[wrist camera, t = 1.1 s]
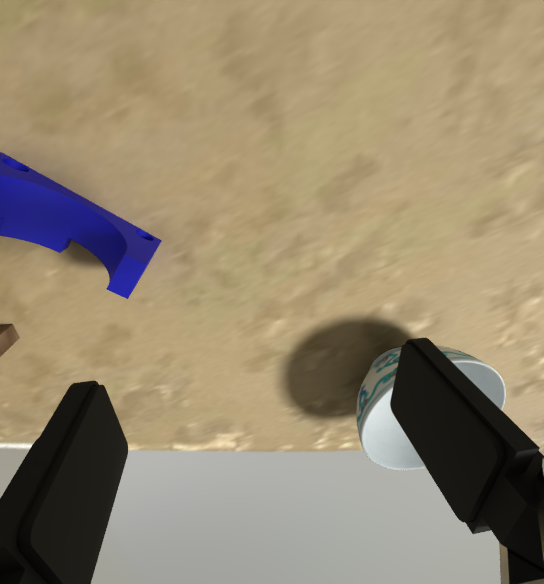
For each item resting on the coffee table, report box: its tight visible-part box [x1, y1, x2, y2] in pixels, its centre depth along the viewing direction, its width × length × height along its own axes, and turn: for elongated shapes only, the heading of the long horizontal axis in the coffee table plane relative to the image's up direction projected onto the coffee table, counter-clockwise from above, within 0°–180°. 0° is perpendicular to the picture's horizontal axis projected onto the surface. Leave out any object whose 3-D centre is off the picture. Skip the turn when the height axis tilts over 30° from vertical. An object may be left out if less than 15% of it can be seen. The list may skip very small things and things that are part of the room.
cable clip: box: [0, 153, 161, 299], centre depth 22 cm, size 12×4×6 cm, turn 55°
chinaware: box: [356, 345, 506, 470], centre depth 33 cm, size 15×15×8 cm
